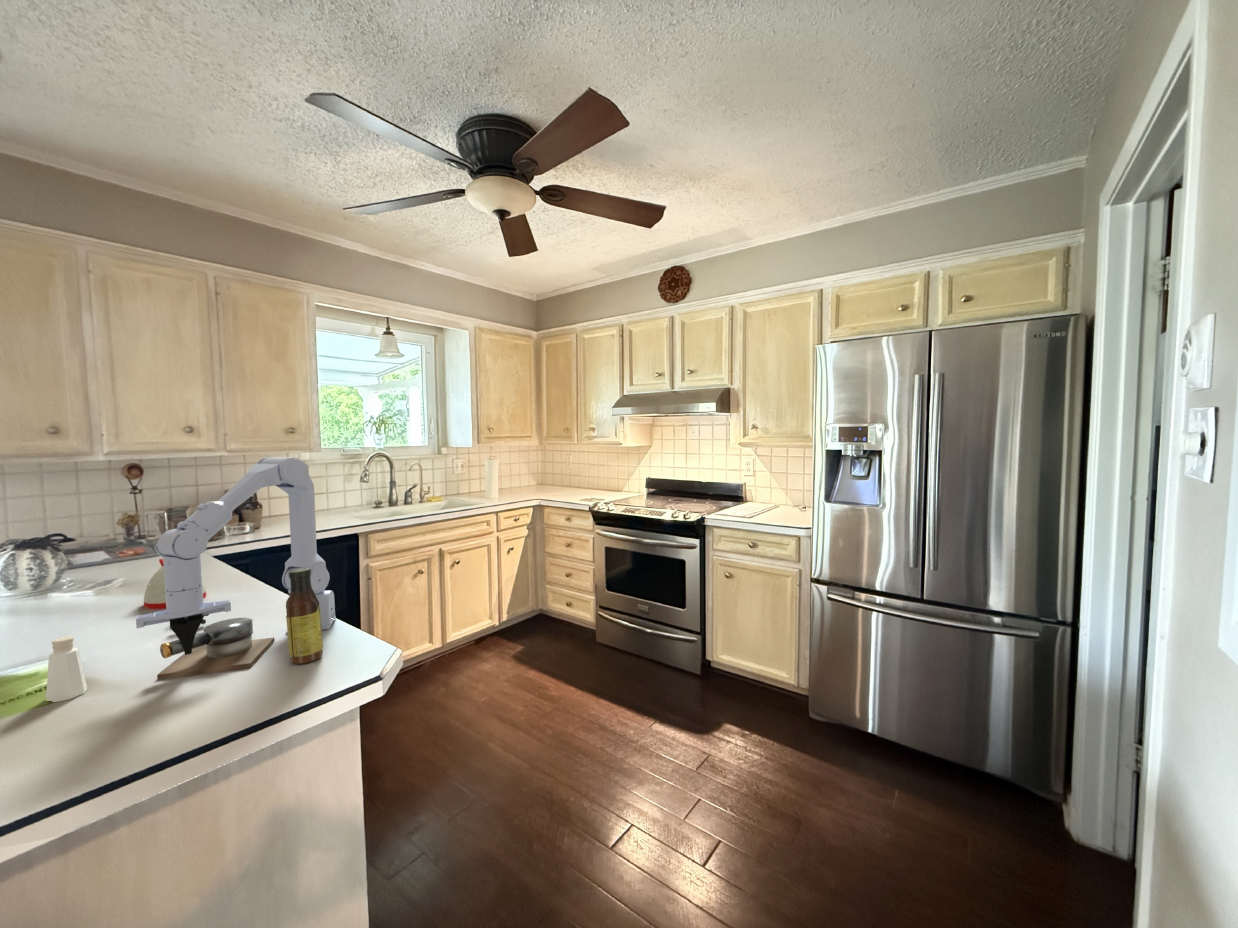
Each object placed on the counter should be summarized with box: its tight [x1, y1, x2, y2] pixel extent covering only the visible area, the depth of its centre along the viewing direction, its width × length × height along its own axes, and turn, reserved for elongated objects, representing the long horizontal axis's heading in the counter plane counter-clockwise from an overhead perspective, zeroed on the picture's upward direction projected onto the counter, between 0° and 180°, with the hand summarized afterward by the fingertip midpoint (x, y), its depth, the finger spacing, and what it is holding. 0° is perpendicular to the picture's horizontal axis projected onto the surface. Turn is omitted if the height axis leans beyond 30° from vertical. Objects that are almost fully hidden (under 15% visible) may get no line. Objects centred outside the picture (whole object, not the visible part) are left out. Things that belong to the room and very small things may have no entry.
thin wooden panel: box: [156, 634, 275, 680], centre depth 109 cm, size 16×14×4 cm
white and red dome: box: [143, 558, 207, 610], centre depth 149 cm, size 14×14×15 cm
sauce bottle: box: [285, 568, 324, 665], centre depth 109 cm, size 6×6×20 cm
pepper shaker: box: [45, 635, 88, 703], centre depth 94 cm, size 5×5×11 cm
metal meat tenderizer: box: [159, 617, 254, 659], centre depth 108 cm, size 16×9×3 cm, turn 153°
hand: (188, 652), depth 103 cm, fingers closed
